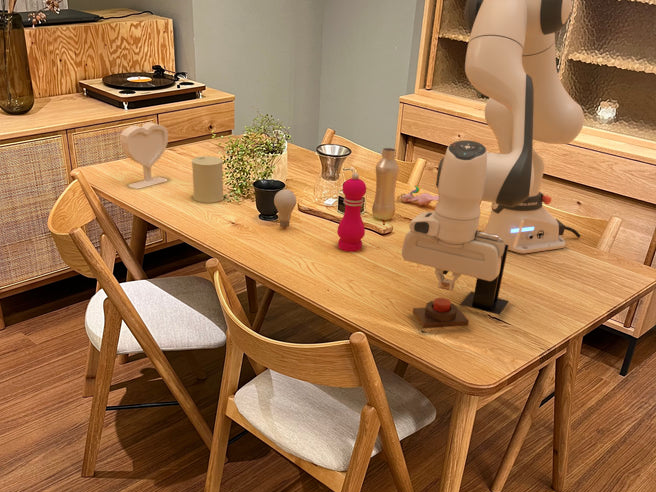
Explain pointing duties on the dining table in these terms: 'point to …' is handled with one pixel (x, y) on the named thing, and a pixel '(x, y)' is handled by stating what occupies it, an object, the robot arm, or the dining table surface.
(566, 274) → the dining table surface
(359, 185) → the pepper mill
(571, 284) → the dining table surface
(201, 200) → the can
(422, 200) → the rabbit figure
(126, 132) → the heart sculpture
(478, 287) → the switch bracket
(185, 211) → the dining table surface
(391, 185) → the plastic bottle
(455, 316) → the button box
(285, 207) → the lightbulb
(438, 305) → the button
